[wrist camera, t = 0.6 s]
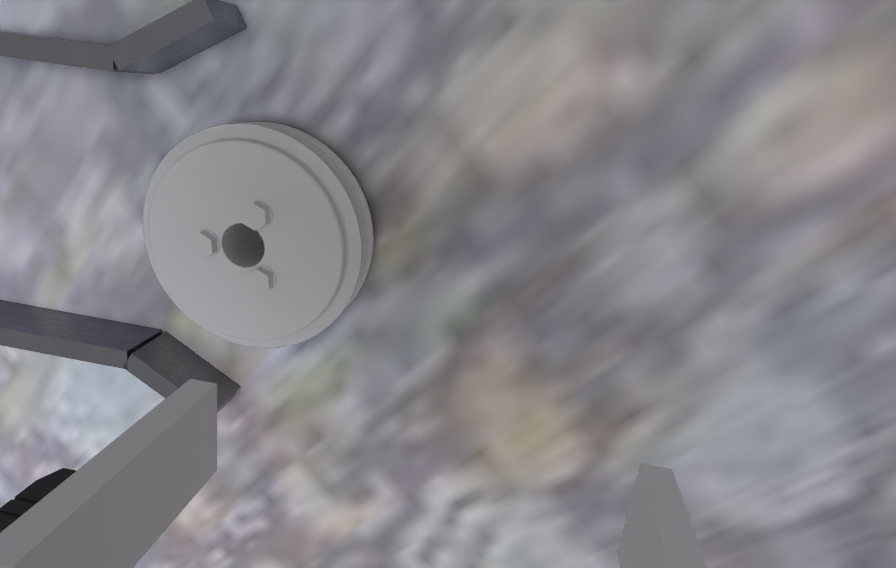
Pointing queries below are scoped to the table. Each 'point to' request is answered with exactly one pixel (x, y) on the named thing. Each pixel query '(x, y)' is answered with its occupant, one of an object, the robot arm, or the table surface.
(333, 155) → the grey pulley wheel
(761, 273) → the table surface
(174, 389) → the steel bracket
